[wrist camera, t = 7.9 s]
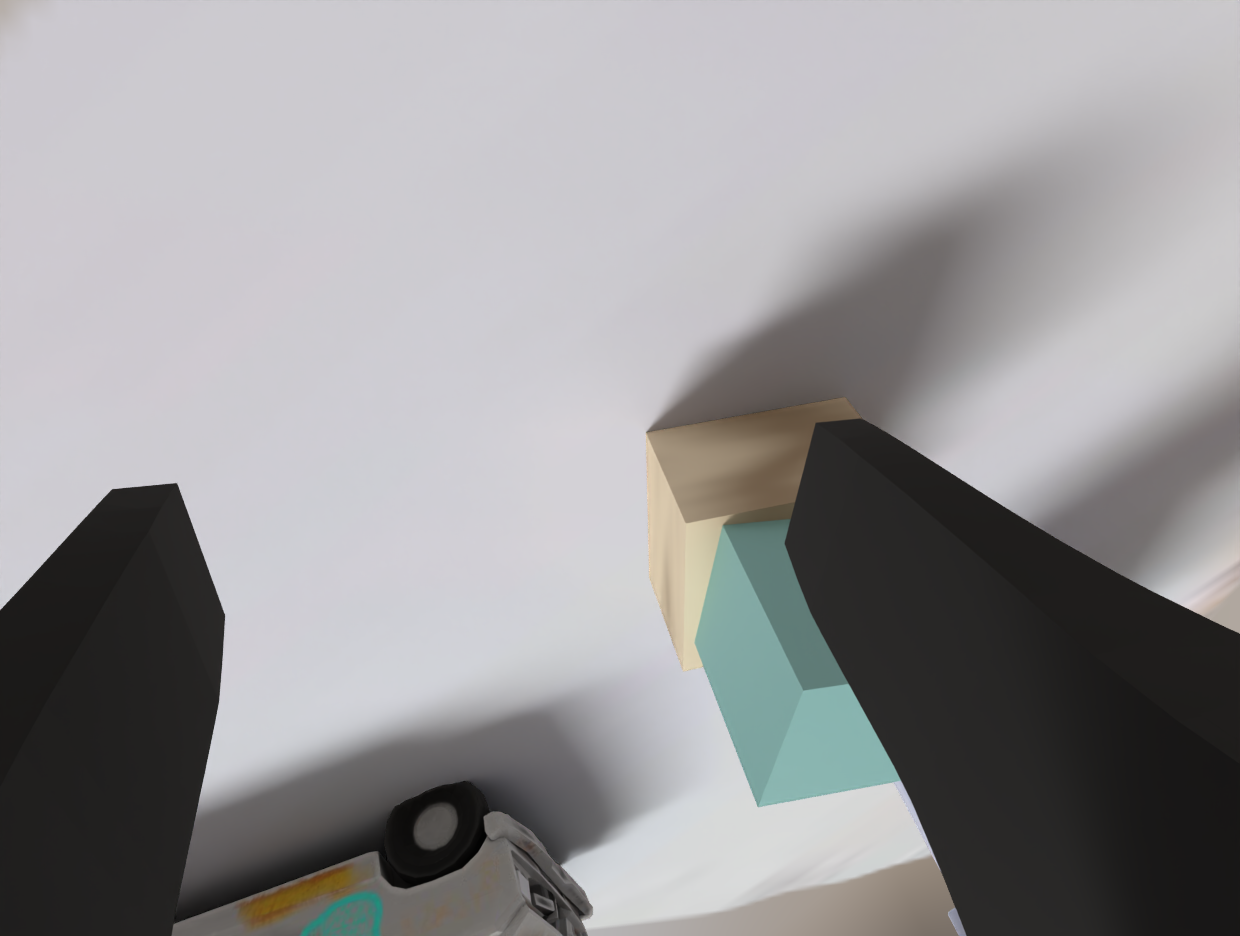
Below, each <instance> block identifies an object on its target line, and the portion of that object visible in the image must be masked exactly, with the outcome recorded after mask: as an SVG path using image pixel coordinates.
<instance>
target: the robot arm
mask: <svg viewBox="0 0 1240 936" xmlns="http://www.w3.org/2000/svg"><path fill="white" fill-rule="evenodd" d="M784 544H785V546H786V549H787V552H788V555H789V558H790V560H791V563H792V566H793V569H794V572H795V574H796V577H797V580H798V583H799V585H800V588H801V590H802V593H803V595H804V598H805V600H806V603H807V605H808V608H809V610H810V613H811V615H812V617H813V619H814V620H815V622H816V624H817V626H818V628H819V630H820V632H821V634H822V636H823V638H824V639H825V641H826V643H827V645H828V647H829V649H830V651H831V652H832V654H833V656H834V658H835V660H836V662H837V664H838V665H839V667H840V669H841V671H842V673H843V675H844V676H845V678H846V680H847V682H848V684H849V686H850V687H851V689H852V691H853V693H854V695H855V696H856V698H857V700H858V702H859V704H860V706H861V707H862V709H863V711H864V713H865V715H866V716H867V718H868V720H869V722H870V724H871V726H872V727H873V729H874V731H875V733H876V735H877V736H878V738H879V740H880V742H881V744H882V746H883V747H884V749H885V751H886V753H887V755H888V757H889V758H890V760H891V762H892V764H893V766H894V768H895V770H896V772H897V774H898V776H899V778H900V780H901V781H897V782H893V783H894V785H895V786H896V788H897V790H898V792H899V794H900V796H901V798H902V800H903V801H904V803H905V805H906V807H907V809H908V811H909V813H910V815H911V816H912V818H913V820H914V822H915V824H916V826H917V828H918V830H919V832H920V833H921V835H922V837H923V839H924V841H925V843H926V845H927V847H928V848H929V850H930V852H931V854H932V856H933V858H934V859H935V861H936V863H937V865H938V867H939V869H940V871H941V873H942V875H943V877H944V880H945V882H946V885H947V887H948V890H949V892H950V895H951V897H952V900H953V903H954V905H955V908H954V909H952V910H951V911H949V912H948V915H949V917H950V919H951V921H952V923H953V925H954V927H955V929H956V931H957V933H958V935H959V936H1240V634H1239V633H1237V632H1235V631H1233V630H1230V629H1228V628H1226V627H1224V626H1222V625H1220V624H1218V623H1215V622H1213V621H1211V620H1209V619H1207V618H1205V617H1203V616H1201V615H1199V614H1197V613H1195V612H1193V611H1191V610H1189V609H1187V608H1185V607H1183V606H1181V605H1179V604H1177V603H1175V602H1173V601H1171V600H1169V599H1167V598H1164V597H1162V596H1160V595H1158V594H1156V593H1154V592H1152V591H1150V590H1148V589H1146V588H1145V587H1143V586H1141V585H1139V584H1137V583H1135V582H1133V581H1131V580H1129V579H1127V578H1126V577H1124V576H1122V575H1120V574H1118V573H1116V572H1114V571H1113V570H1111V569H1109V568H1107V567H1106V566H1104V565H1102V564H1100V563H1098V562H1097V561H1095V560H1093V559H1091V558H1090V557H1088V556H1086V555H1084V554H1083V553H1081V552H1079V551H1077V550H1075V549H1074V548H1072V547H1070V546H1068V545H1067V544H1065V543H1063V542H1061V541H1060V540H1058V539H1056V538H1055V537H1053V536H1051V535H1050V534H1048V533H1046V532H1045V531H1043V530H1041V529H1039V528H1038V527H1036V526H1034V525H1033V524H1031V523H1029V522H1028V521H1026V520H1025V519H1023V518H1021V517H1020V516H1018V515H1016V514H1015V513H1013V512H1012V511H1010V510H1008V509H1007V508H1005V507H1003V506H1002V505H1000V504H999V503H997V502H996V501H994V500H992V499H991V498H989V497H988V496H986V495H984V494H983V493H981V492H980V491H978V490H976V489H975V488H973V487H972V486H970V485H969V484H967V483H965V482H964V481H962V480H961V479H959V478H958V477H956V476H955V475H953V474H951V473H950V472H948V471H947V470H945V469H944V468H942V467H940V466H939V465H937V464H936V463H934V462H933V461H931V460H930V459H928V458H926V457H925V456H923V455H922V454H920V453H919V452H917V451H915V450H914V449H912V448H911V447H909V446H907V445H906V444H904V443H903V442H901V441H899V440H898V439H896V438H895V437H893V436H891V435H890V434H888V433H886V432H885V431H883V430H881V429H879V428H878V427H876V426H874V425H872V424H870V423H869V422H867V421H865V420H863V419H861V418H859V419H849V420H838V421H828V422H817V423H815V427H814V431H813V435H812V439H811V443H810V447H809V450H808V454H807V458H806V462H805V466H804V470H803V474H802V477H801V481H800V485H799V489H798V493H797V497H796V500H795V504H794V508H793V512H792V516H791V520H790V524H789V527H788V531H787V535H786V539H785V543H784ZM224 624H225V614H224V611H223V608H222V606H221V603H220V600H219V597H218V595H217V592H216V589H215V586H214V584H213V581H212V578H211V575H210V573H209V570H208V567H207V564H206V562H205V559H204V556H203V553H202V551H201V548H200V545H199V542H198V540H197V537H196V534H195V531H194V529H193V526H192V523H191V520H190V518H189V515H188V512H187V509H186V507H185V504H184V501H183V498H182V496H181V493H180V490H179V487H178V485H177V483H174V484H163V485H152V486H142V487H131V488H121V489H112V490H111V491H110V492H109V493H108V494H107V495H106V496H105V497H104V498H103V500H102V501H101V502H100V503H99V504H98V505H97V506H96V507H95V508H94V509H93V510H92V511H91V512H90V513H89V515H88V516H87V517H86V518H85V519H84V520H83V521H82V522H81V523H80V524H79V525H78V526H77V528H76V529H75V530H74V531H73V532H72V533H71V534H70V535H69V536H68V537H67V538H66V539H65V541H64V542H63V543H62V544H61V545H60V546H59V547H58V548H57V549H56V550H55V552H54V553H53V554H52V555H51V556H50V557H49V558H48V559H47V560H46V561H45V562H44V564H43V565H42V566H41V567H40V568H39V569H38V570H37V571H36V572H35V573H34V574H33V576H32V577H31V578H30V579H29V580H28V581H27V582H26V583H25V584H24V585H23V586H22V588H21V589H20V590H19V591H18V592H17V593H16V594H15V595H14V596H13V597H12V598H11V599H10V600H9V601H8V602H7V604H6V605H5V606H4V607H3V608H2V609H1V610H0V936H172V930H173V924H174V918H175V912H176V907H177V902H178V897H179V892H180V888H181V883H182V878H183V873H184V869H185V864H186V859H187V854H188V850H189V845H190V840H191V835H192V831H193V826H194V821H195V816H196V812H197V807H198V802H199V797H200V793H201V788H202V783H203V779H204V774H205V769H206V764H207V759H208V754H209V749H210V744H211V739H212V735H213V730H214V725H215V720H216V714H217V709H218V704H219V695H220V683H221V671H222V658H223V641H224Z"/></svg>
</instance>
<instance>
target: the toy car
mask: <svg viewBox="0 0 1240 936" xmlns="http://www.w3.org/2000/svg"><path fill="white" fill-rule="evenodd" d="M384 845H385V849H386V854H387V858H388V862H387V861H386V860H385V858H384V857H383V856H382V855H381V854H380V853H379V852H378V851H375V852H369V853H366V854H363V855H360V856H358V857H355V858H352V859H350V860H347V861H344V862H342V863H339V864H336V865H333V866H331V867H328V868H325V869H323V870H320V871H317V872H314V873H312V874H309V875H306V876H304V877H301V878H298V879H295V880H293V881H290V882H287V883H285V884H282V885H279V886H276V887H274V888H271V889H268V890H265V891H263V892H260V893H257V894H255V895H252V896H249V897H246V898H244V899H241V900H238V901H235V902H233V903H230V904H227V905H224V906H222V907H219V908H216V909H213V910H211V911H208V912H205V913H202V914H200V915H197V916H194V917H191V918H189V919H186V920H183V921H180V922H178V923H175V924H173V930H172V936H588V935H587V932H586V929H585V927H584V925H583V923H582V921H583V920H586V919H589V918H590V917H591V916H592V915H593V907H592V905H591V904H590V903H589V901H588V898H587V896H586V894H585V891H584V890H583V889H582V888H581V887H580V886H579V885H578V884H577V883H576V882H575V881H574V880H573V879H572V877H571V876H570V875H569V874H568V873H567V872H566V871H565V870H564V869H563V868H562V867H561V866H560V865H559V864H556V863H555V861H554V860H553V859H552V858H551V857H550V856H549V854H548V853H547V851H546V849H545V847H544V846H543V844H542V843H541V842H540V841H539V840H538V838H537V837H536V836H535V835H534V833H533V832H532V831H531V830H530V829H528V828H527V827H525V826H523V825H522V824H520V823H519V822H517V821H516V820H514V819H513V818H511V817H510V816H509V815H508V814H504V813H502V812H495V811H492V812H490V811H489V808H488V805H487V802H486V800H485V797H484V794H483V793H482V792H481V791H480V790H479V789H478V788H476V787H475V786H474V785H473V784H471V783H469V782H466V781H463V782H459V783H454V784H449V785H442V786H439V787H436V788H433V789H430V790H428V791H426V792H424V793H422V794H420V795H418V796H416V797H414V798H411V799H408V800H406V801H404V802H403V803H401V804H400V805H397V806H395V808H394V810H393V811H392V813H391V815H390V817H389V819H388V821H387V827H386V833H385V839H384Z"/></svg>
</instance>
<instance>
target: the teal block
mask: <svg viewBox="0 0 1240 936" xmlns="http://www.w3.org/2000/svg"><path fill="white" fill-rule="evenodd" d="M790 520H791V519H784V520H773V521H762V522H751V523H741V524H730V525H722V530H721V534H720V538H719V542H718V546H717V550H716V555H715V559H714V563H713V567H712V571H711V575H710V579H709V584H708V588H707V592H706V596H705V600H704V604H703V608H702V613H701V617H700V621H699V625H698V629H697V633H696V638H695V642H694V643H695V646H696V648H697V651H698V653H699V656H700V659H701V661H702V664H703V666H704V669H705V672H706V674H707V677H708V679H709V682H710V684H711V687H712V690H713V692H714V695H715V697H716V700H717V703H718V705H719V708H720V710H721V713H722V715H723V718H724V721H725V723H726V726H727V728H728V731H729V734H730V736H731V739H732V741H733V744H734V746H735V749H736V752H737V754H738V757H739V759H740V762H741V765H742V767H743V770H744V772H745V775H746V777H747V780H748V783H749V785H750V788H751V790H752V793H753V796H754V798H755V801H756V803H757V806H758V807H762V806H767V805H772V804H778V803H783V802H789V801H794V800H800V799H805V798H810V797H816V796H821V795H827V794H832V793H838V792H843V791H848V790H854V789H859V788H865V787H870V786H876V785H881V784H886V783H892V782H897V781H901V780H900V778H899V776H898V774H897V772H896V770H895V768H894V766H893V764H892V762H891V760H890V758H889V757H888V755H887V753H886V751H885V749H884V747H883V746H882V744H881V742H880V740H879V738H878V736H877V735H876V733H875V731H874V729H873V727H872V726H871V724H870V722H869V720H868V718H867V716H866V715H865V713H864V711H863V709H862V707H861V706H860V704H859V702H858V700H857V698H856V696H855V695H854V693H853V691H852V689H851V687H850V686H849V684H848V682H847V680H846V678H845V676H844V675H843V673H842V671H841V669H840V667H839V665H838V664H837V662H836V660H835V658H834V656H833V654H832V652H831V651H830V649H829V647H828V645H827V643H826V641H825V639H824V638H823V636H822V634H821V632H820V630H819V628H818V626H817V624H816V622H815V620H814V619H813V617H812V615H811V613H810V610H809V608H808V605H807V603H806V600H805V598H804V595H803V593H802V590H801V588H800V585H799V583H798V580H797V577H796V574H795V572H794V569H793V566H792V563H791V560H790V558H789V555H788V552H787V549H786V546H785V544H784V543H785V539H786V535H787V531H788V527H789V524H790Z"/></svg>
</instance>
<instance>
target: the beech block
mask: <svg viewBox="0 0 1240 936" xmlns="http://www.w3.org/2000/svg"><path fill="white" fill-rule="evenodd" d="M859 418H861V416H860V415H859V414H858V413H857V411H856V410H855V409H854V408H853V406H852V405H851V404H850V403H849V401H848V400H847V399H846V398H845V397H842V398H837V399H831V400H825V401H820V402H814V403H809V404H803V405H797V406H792V407H786V408H780V409H775V410H769V411H764V412H758V413H752V414H747V415H741V416H736V417H730V418H724V419H719V420H713V421H707V422H702V423H696V424H691V425H685V426H679V427H674V428H668V429H662V430H657V431H651V432H646V459H647V502H648V544H649V578H650V581H651V584H652V587H653V589H654V592H655V595H656V598H657V600H658V603H659V606H660V609H661V612H662V614H663V617H664V620H665V623H666V625H667V628H668V631H669V634H670V636H671V639H672V642H673V645H674V648H675V650H676V653H677V656H678V659H679V661H680V664H681V667H682V670H683V672H684V671H688V670H693V669H697V668H701V667H704V666H703V664H702V661H701V659H700V656H699V653H698V651H697V648H696V646H695V643H694V642H695V638H696V633H697V629H698V625H699V621H700V617H701V613H702V608H703V604H704V600H705V596H706V592H707V588H708V584H709V579H710V575H711V571H712V567H713V563H714V559H715V555H716V550H717V546H718V542H719V538H720V534H721V530H722V525H730V524H741V523H751V522H762V521H773V520H784V519H791V516H792V512H793V508H794V504H795V500H796V497H797V493H798V489H799V485H800V481H801V477H802V474H803V470H804V466H805V462H806V458H807V454H808V450H809V447H810V443H811V439H812V435H813V431H814V427H815V423H817V422H828V421H838V420H849V419H859ZM861 419H862V418H861Z"/></svg>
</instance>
